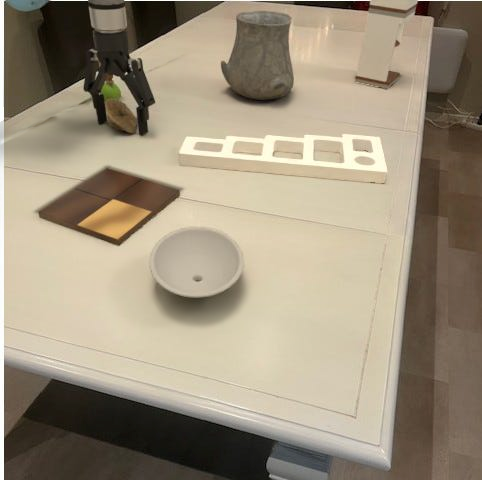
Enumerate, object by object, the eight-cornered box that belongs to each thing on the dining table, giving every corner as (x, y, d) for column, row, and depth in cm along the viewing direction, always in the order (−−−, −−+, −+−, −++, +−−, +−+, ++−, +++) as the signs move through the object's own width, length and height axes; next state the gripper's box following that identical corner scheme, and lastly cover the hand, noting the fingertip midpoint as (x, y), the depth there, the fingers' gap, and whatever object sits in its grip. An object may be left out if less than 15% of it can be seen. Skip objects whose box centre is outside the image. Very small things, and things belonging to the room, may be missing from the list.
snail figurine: (113, 97, 134) (106, 50, 126) (125, 104, 131) (120, 56, 122) (95, 101, 131) (88, 53, 123) (108, 108, 128) (101, 60, 120)
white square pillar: (387, 89, 148) (421, -52, 124) (354, 82, 151) (381, -57, 127) (398, 79, 155) (431, -56, 131) (366, 73, 159) (393, -60, 135)
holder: (178, 165, 106) (178, 153, 104) (194, 131, 119) (193, 121, 117) (384, 183, 104) (387, 172, 102) (377, 147, 117) (379, 137, 115)
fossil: (107, 114, 111) (107, 89, 116) (96, 127, 113) (97, 102, 118) (139, 135, 116) (137, 111, 122) (128, 147, 119) (127, 123, 124)
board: (39, 217, 89) (37, 211, 88) (107, 173, 102) (106, 167, 101) (118, 245, 84) (117, 239, 83) (180, 195, 97) (179, 189, 96)
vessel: (242, 113, 129) (245, 29, 115) (211, 86, 144) (211, 9, 130) (312, 104, 136) (323, 24, 122) (276, 79, 151) (282, 5, 137)
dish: (155, 250, 83) (153, 226, 79) (238, 249, 84) (239, 225, 81) (148, 322, 70) (145, 297, 67) (246, 320, 71) (248, 295, 68)
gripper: (166, 33, 103) (172, 133, 118) (78, 17, 110) (94, 112, 125) (146, 41, 98) (154, 144, 113) (54, 23, 105) (74, 122, 120)
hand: (122, 128), depth 119 cm, fingers open, 12 cm apart
